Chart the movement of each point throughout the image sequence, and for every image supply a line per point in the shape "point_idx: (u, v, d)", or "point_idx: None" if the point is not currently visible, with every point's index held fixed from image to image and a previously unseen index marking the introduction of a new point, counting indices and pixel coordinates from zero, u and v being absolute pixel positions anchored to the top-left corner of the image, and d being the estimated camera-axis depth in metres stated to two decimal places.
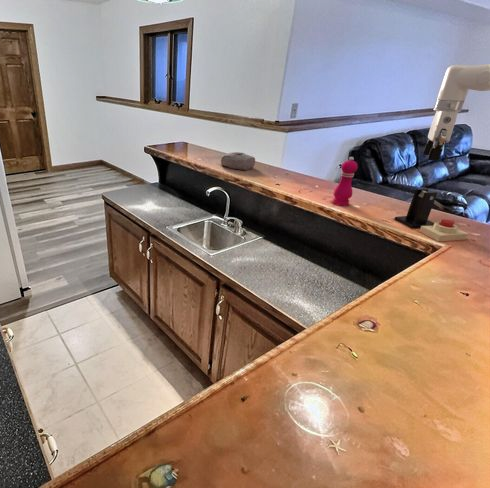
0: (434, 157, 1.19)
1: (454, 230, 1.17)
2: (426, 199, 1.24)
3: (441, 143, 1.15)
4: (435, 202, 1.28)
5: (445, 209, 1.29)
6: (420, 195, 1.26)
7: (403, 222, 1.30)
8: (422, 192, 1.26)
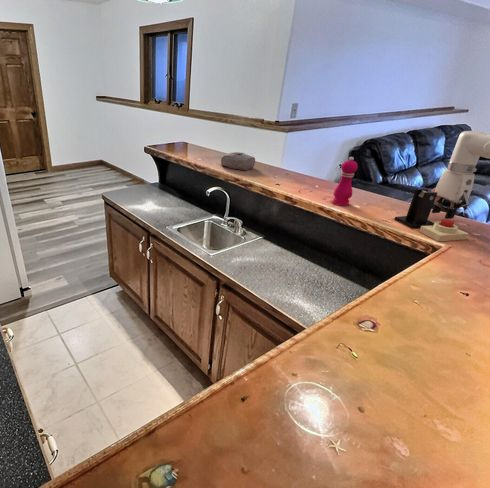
0: (452, 216, 1.28)
1: (454, 230, 1.17)
2: (426, 199, 1.24)
3: None
4: (435, 202, 1.28)
5: (445, 209, 1.29)
6: (420, 195, 1.26)
7: (403, 222, 1.30)
8: (422, 192, 1.26)
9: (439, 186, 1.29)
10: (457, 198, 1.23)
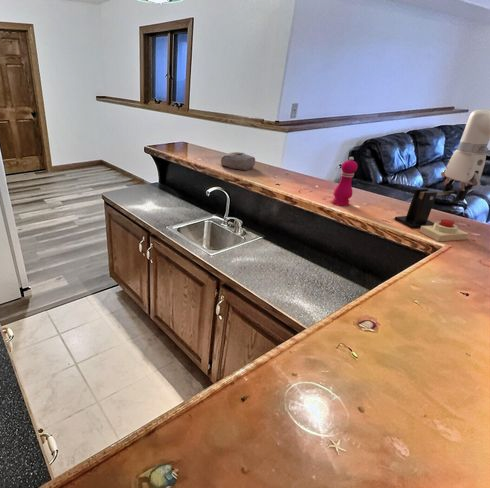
0: (462, 198, 1.25)
1: (454, 230, 1.17)
2: (426, 199, 1.24)
3: (473, 186, 1.21)
4: (440, 194, 1.27)
5: (455, 193, 1.27)
6: (420, 197, 1.27)
7: (403, 222, 1.30)
8: (420, 194, 1.26)
9: (449, 168, 1.27)
10: (468, 179, 1.21)
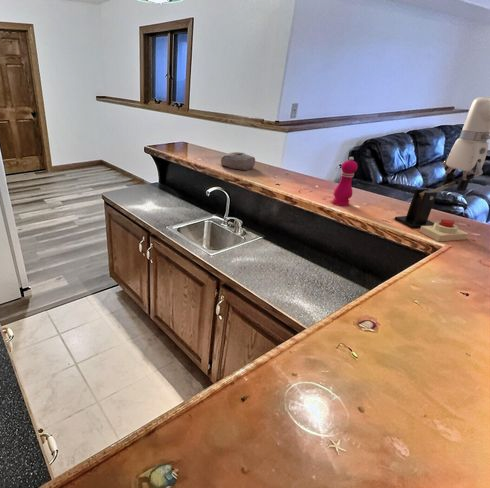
0: (464, 188, 1.23)
1: (454, 230, 1.17)
2: (426, 199, 1.24)
3: (475, 175, 1.19)
4: (440, 189, 1.26)
5: (457, 184, 1.25)
6: (420, 198, 1.27)
7: (403, 222, 1.30)
8: (420, 195, 1.27)
9: (451, 157, 1.25)
10: (470, 168, 1.19)
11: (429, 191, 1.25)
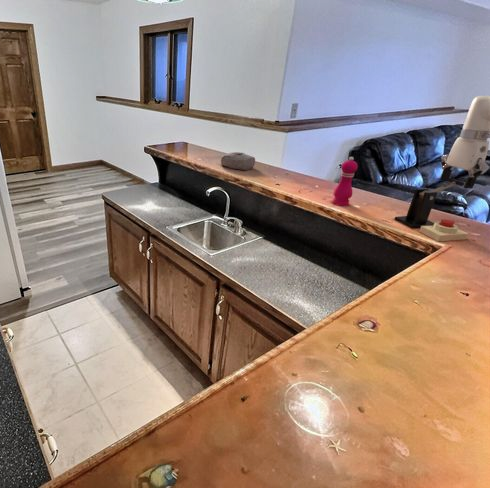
0: (471, 185, 1.20)
1: (454, 230, 1.17)
2: (426, 199, 1.24)
3: (483, 172, 1.16)
4: (440, 189, 1.26)
5: (457, 184, 1.25)
6: (420, 198, 1.27)
7: (403, 222, 1.30)
8: (420, 195, 1.27)
9: (451, 156, 1.24)
10: (471, 167, 1.18)
11: (429, 191, 1.25)
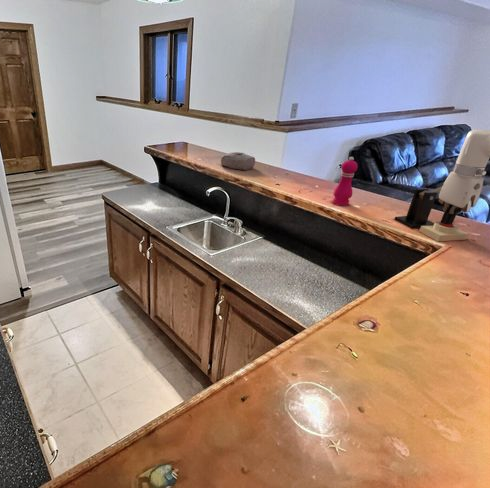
0: (451, 221, 1.18)
1: (454, 230, 1.17)
2: (426, 199, 1.24)
3: None
4: (440, 189, 1.26)
5: None
6: (420, 198, 1.27)
7: (403, 222, 1.30)
8: (420, 195, 1.27)
9: (444, 190, 1.18)
10: (464, 204, 1.11)
11: (429, 191, 1.25)
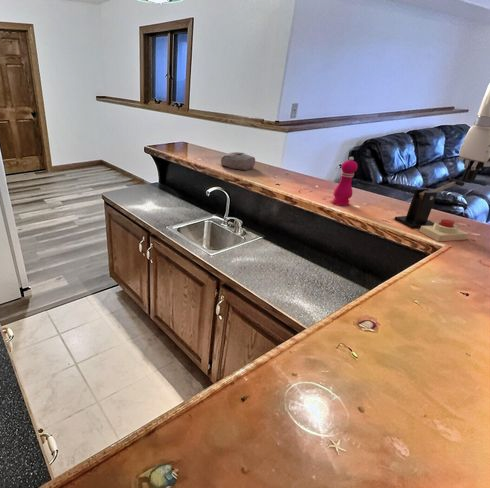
0: (472, 179, 1.13)
1: (454, 230, 1.17)
2: (426, 199, 1.24)
3: None
4: (440, 189, 1.26)
5: (457, 184, 1.25)
6: (420, 198, 1.27)
7: (403, 222, 1.30)
8: (420, 195, 1.27)
9: (464, 146, 1.13)
10: (487, 158, 1.06)
11: (429, 191, 1.25)
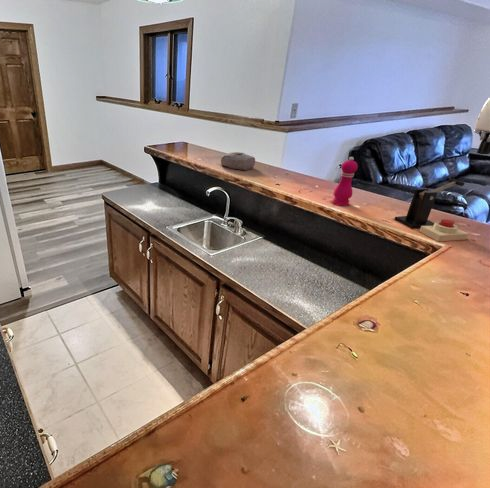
0: (488, 151, 1.13)
1: (454, 230, 1.17)
2: (426, 199, 1.24)
3: None
4: (440, 189, 1.26)
5: (457, 184, 1.25)
6: (420, 198, 1.27)
7: (403, 222, 1.30)
8: (420, 195, 1.27)
9: (481, 118, 1.13)
10: None
11: (429, 191, 1.25)
